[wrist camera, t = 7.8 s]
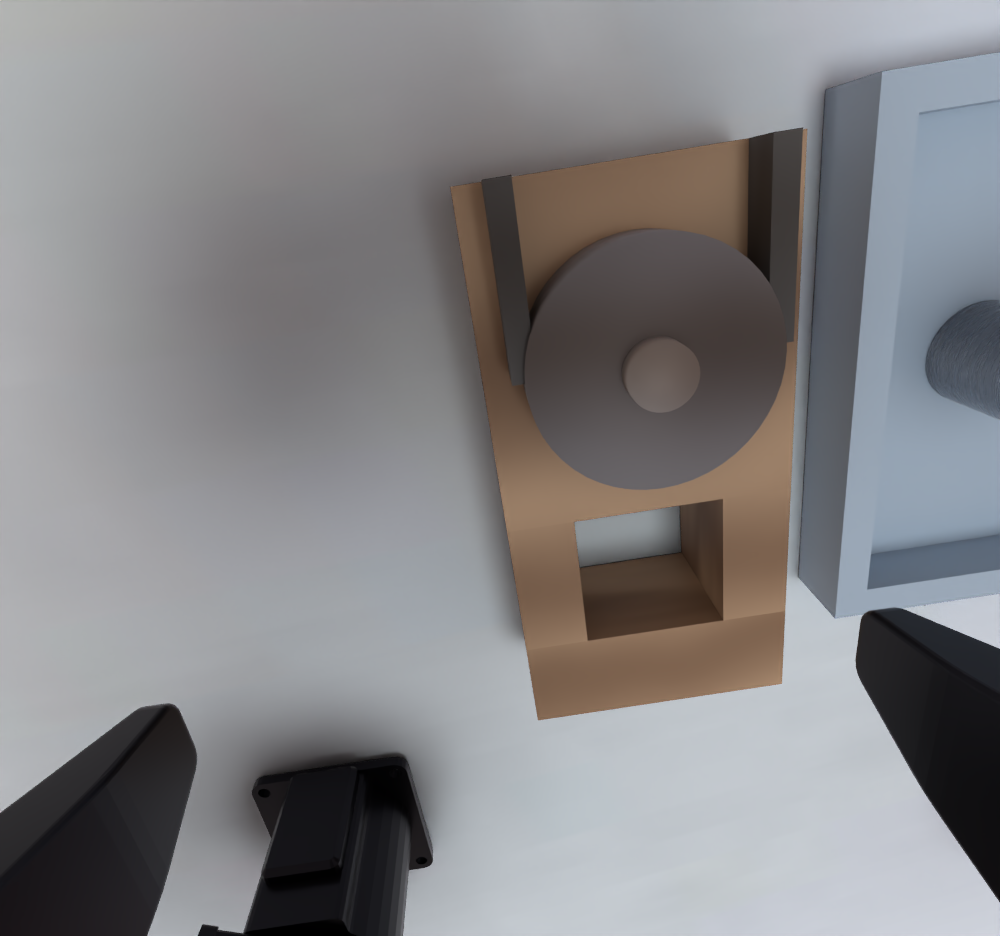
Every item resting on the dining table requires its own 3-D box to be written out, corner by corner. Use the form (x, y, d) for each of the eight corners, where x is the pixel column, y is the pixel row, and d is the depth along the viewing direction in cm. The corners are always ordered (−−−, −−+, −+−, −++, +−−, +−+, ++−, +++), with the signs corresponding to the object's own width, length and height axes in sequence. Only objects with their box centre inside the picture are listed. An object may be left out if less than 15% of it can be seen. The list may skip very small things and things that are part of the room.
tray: (1063, 537, 23) (1129, 573, 21) (798, 577, 23) (834, 618, 21) (1191, 29, 17) (1307, 1, 14) (825, 89, 17) (882, 71, 14)
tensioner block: (732, 609, 24) (815, 735, 18) (527, 640, 24) (545, 775, 18) (734, 145, 17) (863, 116, 12) (453, 190, 17) (447, 183, 12)
